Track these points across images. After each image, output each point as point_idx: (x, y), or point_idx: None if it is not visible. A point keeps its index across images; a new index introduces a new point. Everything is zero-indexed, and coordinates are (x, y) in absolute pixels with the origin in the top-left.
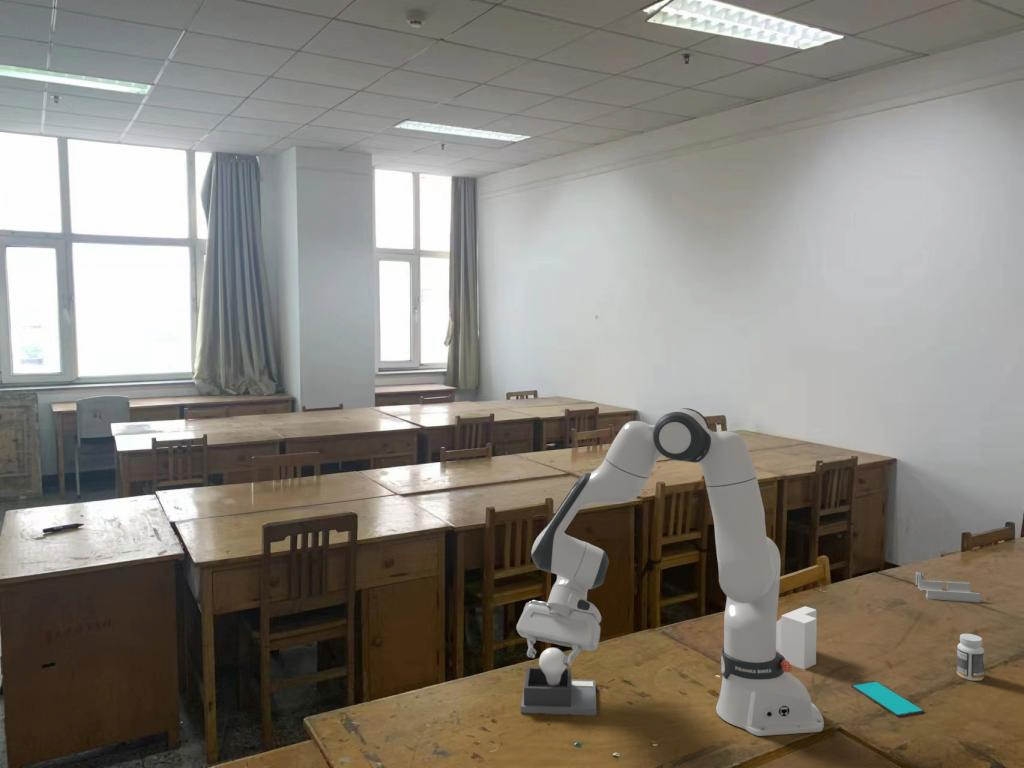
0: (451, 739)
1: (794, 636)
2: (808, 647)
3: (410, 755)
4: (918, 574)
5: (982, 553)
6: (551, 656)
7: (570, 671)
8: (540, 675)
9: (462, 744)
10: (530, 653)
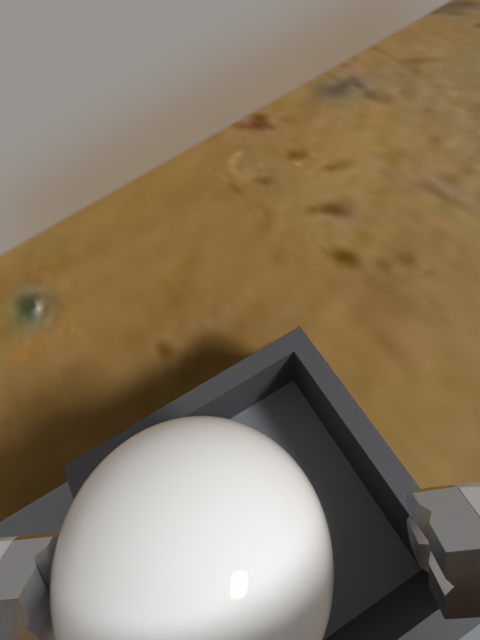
0: (367, 129)
1: None
2: None
3: (389, 48)
4: None
5: None
6: (137, 455)
7: None
8: (383, 624)
9: (323, 131)
10: (436, 491)
